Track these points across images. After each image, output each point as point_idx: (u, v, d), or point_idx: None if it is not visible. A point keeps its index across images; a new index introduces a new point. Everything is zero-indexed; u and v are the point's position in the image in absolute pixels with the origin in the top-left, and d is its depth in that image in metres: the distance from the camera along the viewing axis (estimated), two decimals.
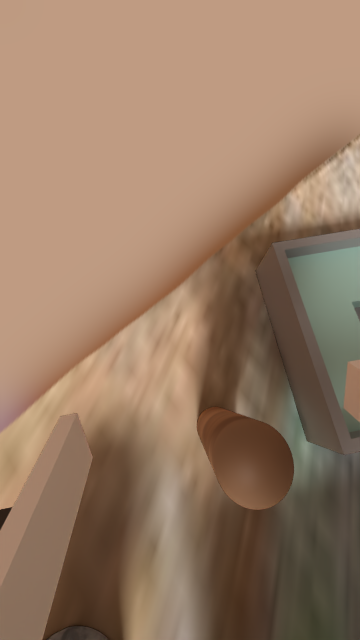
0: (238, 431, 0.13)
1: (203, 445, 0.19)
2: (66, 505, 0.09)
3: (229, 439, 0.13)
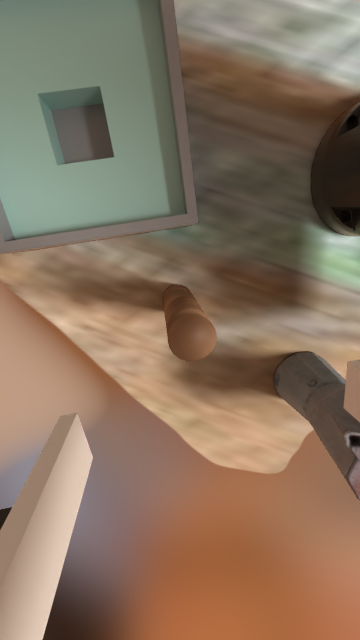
0: (174, 347, 0.20)
1: None
2: (66, 505, 0.09)
3: (179, 352, 0.20)
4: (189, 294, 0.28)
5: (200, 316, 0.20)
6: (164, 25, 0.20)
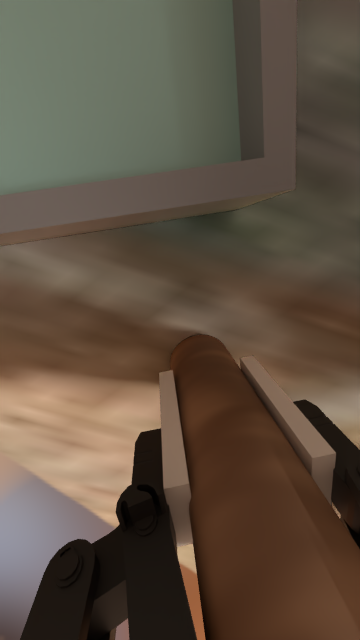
0: None
1: None
2: None
3: None
4: (242, 382, 0.11)
5: None
6: None
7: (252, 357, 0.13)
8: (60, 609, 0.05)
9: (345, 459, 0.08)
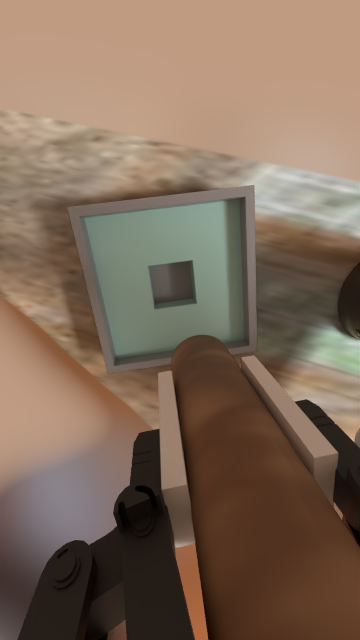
0: None
1: None
2: None
3: None
4: (242, 381, 0.11)
5: None
6: (246, 233, 0.28)
7: (253, 357, 0.13)
8: (57, 611, 0.05)
9: (347, 459, 0.08)
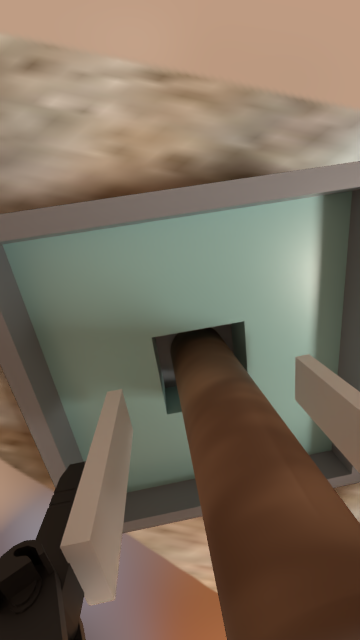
0: None
1: None
2: (122, 464, 0.10)
3: None
4: (234, 361, 0.13)
5: None
6: None
7: (309, 356, 0.12)
8: None
9: None
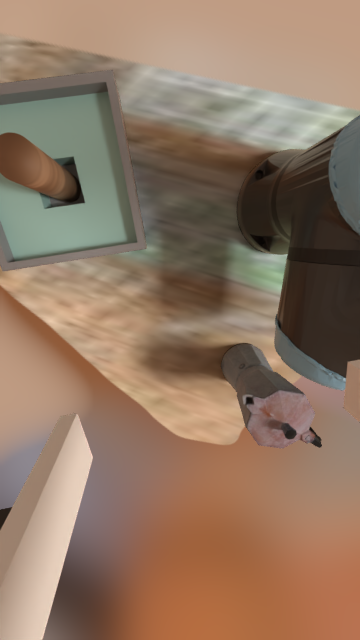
0: (0, 165, 0.22)
1: (53, 194, 0.30)
2: (66, 505, 0.09)
3: (5, 172, 0.22)
4: None
5: (19, 135, 0.22)
6: (114, 121, 0.30)
7: None
8: None
9: None
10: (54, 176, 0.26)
